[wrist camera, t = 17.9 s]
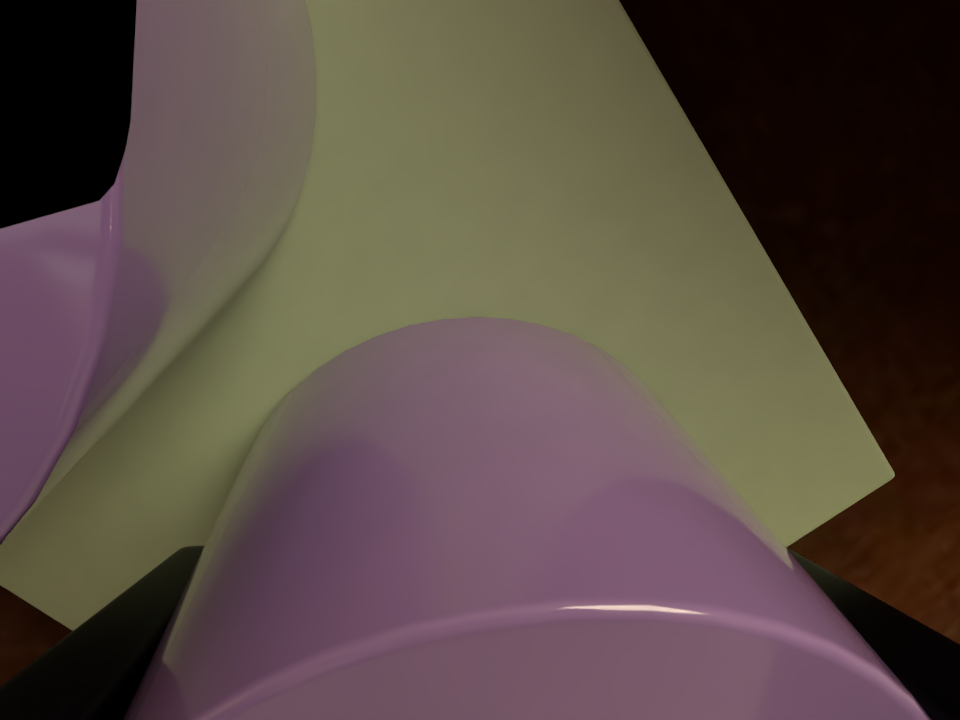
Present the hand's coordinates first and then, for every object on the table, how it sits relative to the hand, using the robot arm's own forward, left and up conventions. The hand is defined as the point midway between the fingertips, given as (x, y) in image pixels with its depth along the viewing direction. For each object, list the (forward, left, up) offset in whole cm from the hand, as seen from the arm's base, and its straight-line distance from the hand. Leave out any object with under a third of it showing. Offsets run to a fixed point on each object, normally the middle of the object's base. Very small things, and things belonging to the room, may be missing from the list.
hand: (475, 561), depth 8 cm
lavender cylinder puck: (0, 0, -1) cm, 1 cm away
